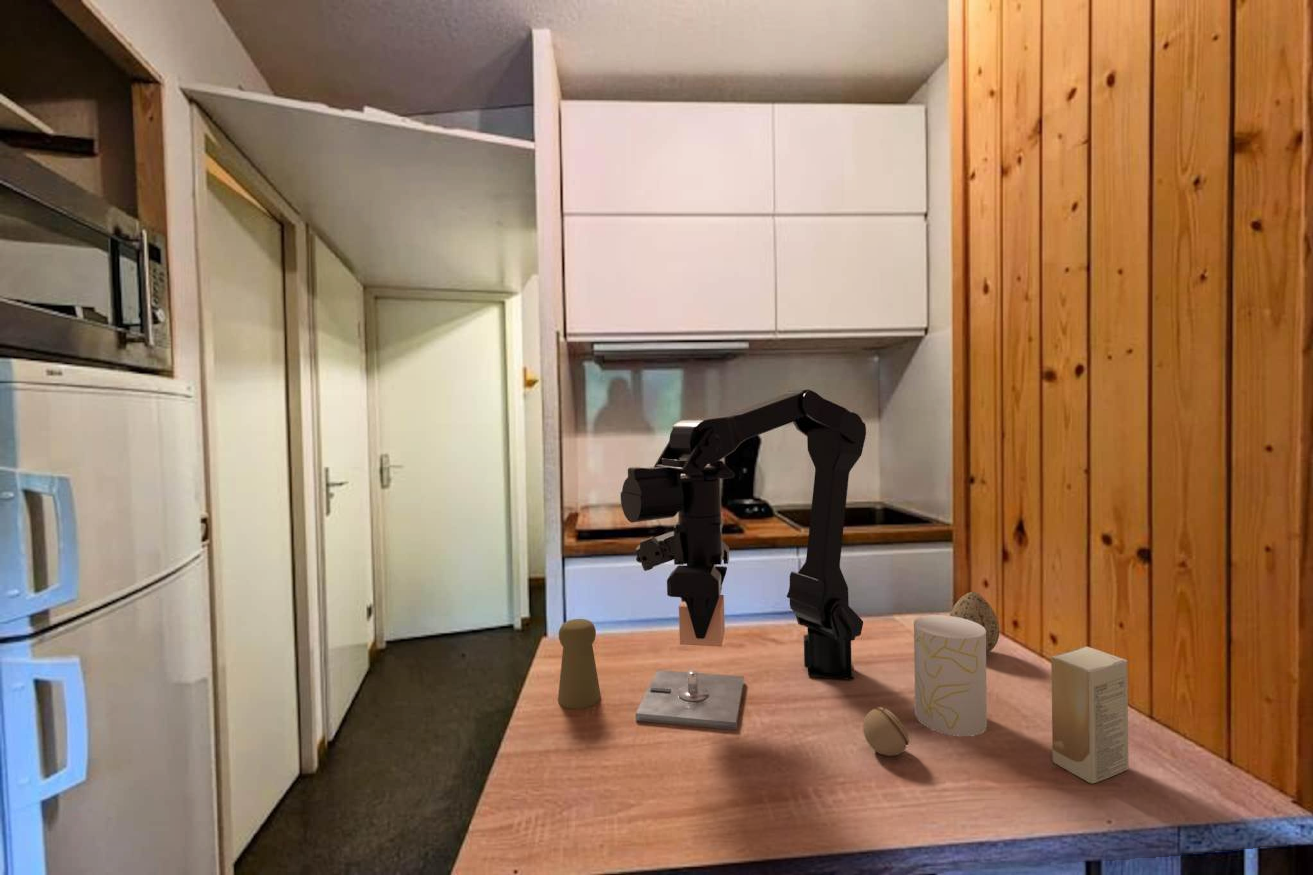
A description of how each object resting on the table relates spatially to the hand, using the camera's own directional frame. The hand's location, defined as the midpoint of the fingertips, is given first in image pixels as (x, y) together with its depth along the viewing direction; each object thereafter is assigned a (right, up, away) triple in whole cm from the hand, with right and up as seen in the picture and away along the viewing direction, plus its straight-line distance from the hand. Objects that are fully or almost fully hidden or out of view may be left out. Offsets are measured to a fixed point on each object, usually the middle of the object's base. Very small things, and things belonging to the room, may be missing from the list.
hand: (702, 629), depth 77 cm
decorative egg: (+45, -9, +16) cm, 49 cm away
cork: (-17, -12, +5) cm, 21 cm away
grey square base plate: (-1, -11, +3) cm, 11 cm away
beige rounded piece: (+20, -11, -10) cm, 25 cm away
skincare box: (+41, -11, -14) cm, 45 cm away
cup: (+31, -10, -3) cm, 33 cm away
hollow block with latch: (0, -1, 0) cm, 1 cm away
